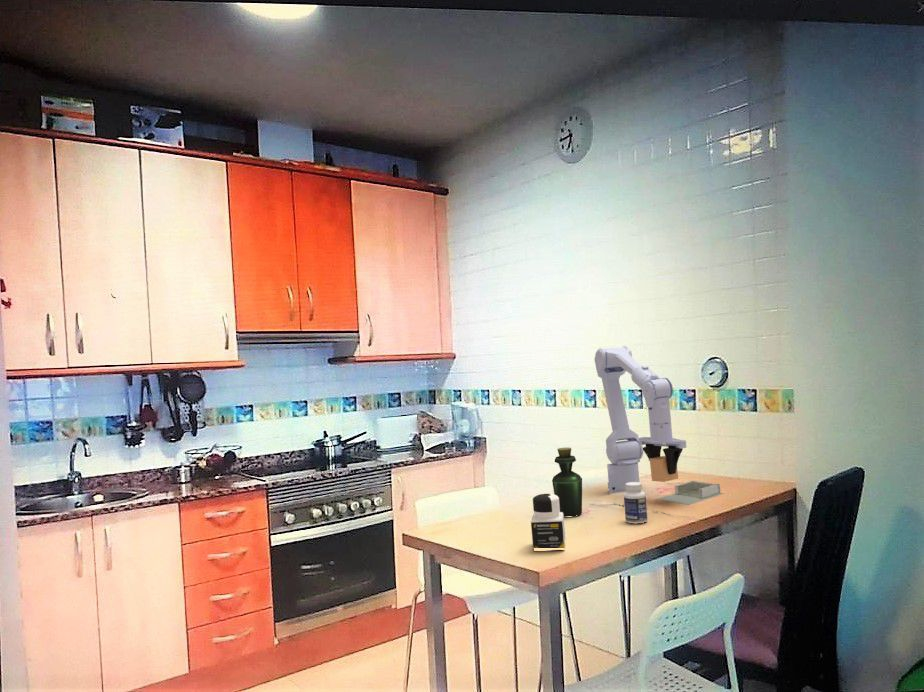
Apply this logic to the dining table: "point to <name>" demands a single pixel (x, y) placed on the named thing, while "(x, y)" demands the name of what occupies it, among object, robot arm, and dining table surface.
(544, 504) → the medicine bottle
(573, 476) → the potion bottle
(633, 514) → the pill bottle
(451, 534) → the dining table surface
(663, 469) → the chute block
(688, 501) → the deck plate
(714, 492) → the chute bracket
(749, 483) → the dining table surface
